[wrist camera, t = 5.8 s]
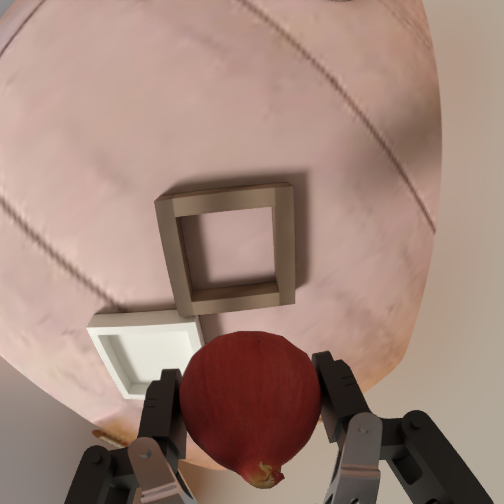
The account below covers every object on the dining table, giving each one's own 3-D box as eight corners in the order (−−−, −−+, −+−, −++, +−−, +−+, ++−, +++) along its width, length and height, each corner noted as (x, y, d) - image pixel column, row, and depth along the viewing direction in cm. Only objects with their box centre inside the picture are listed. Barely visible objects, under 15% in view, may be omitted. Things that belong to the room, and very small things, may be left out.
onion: (269, 383, 15) (292, 505, 8) (174, 362, 14) (160, 498, 7) (319, 311, 13) (383, 451, 6) (207, 277, 12) (198, 452, 5)
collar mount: (287, 182, 23) (293, 186, 21) (290, 292, 28) (295, 303, 26) (159, 196, 23) (154, 201, 21) (181, 304, 27) (179, 316, 25)
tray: (196, 307, 27) (195, 322, 25) (215, 383, 32) (215, 397, 30) (93, 314, 27) (86, 327, 24) (128, 385, 31) (124, 398, 29)
